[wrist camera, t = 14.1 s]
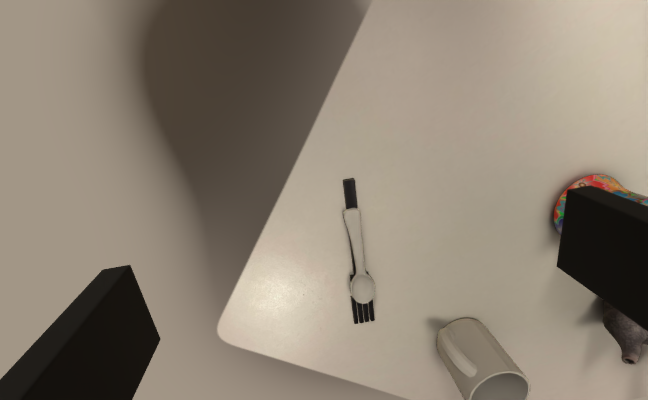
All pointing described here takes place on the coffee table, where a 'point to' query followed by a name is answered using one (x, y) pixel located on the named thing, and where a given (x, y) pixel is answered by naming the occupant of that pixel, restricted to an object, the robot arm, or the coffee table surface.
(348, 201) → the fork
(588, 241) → the robot arm
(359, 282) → the spoon
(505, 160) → the coffee table surface
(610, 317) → the teapot
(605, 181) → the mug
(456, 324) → the cup
